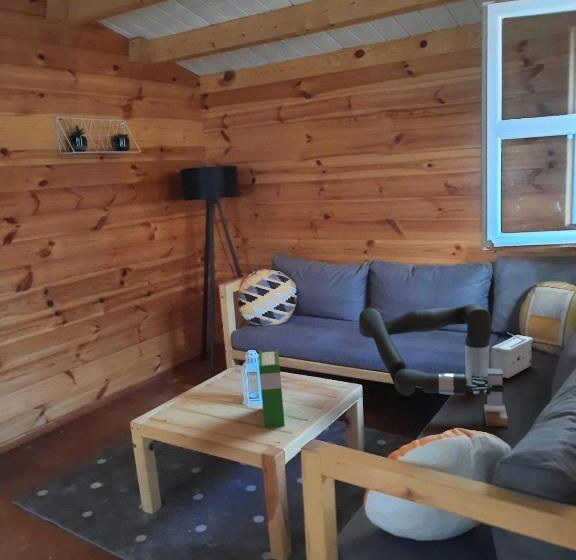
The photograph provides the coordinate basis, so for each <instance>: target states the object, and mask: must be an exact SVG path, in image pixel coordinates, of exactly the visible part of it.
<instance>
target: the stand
mask: <svg viewBox="0 0 576 560" xmlns="http://www.w3.org/2000/svg"><path fill="white" fill-rule="evenodd" d="M483 410H484V411H483V412H484V413H483V414H484V420H485V426H486V427H488V426H489V427H504V428H505V427H508V424H509V423H508V421H509V420H508V415H507V409H506V406H505V404H502V406H488V403H486V404H485V403H484V404H483Z"/></svg>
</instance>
